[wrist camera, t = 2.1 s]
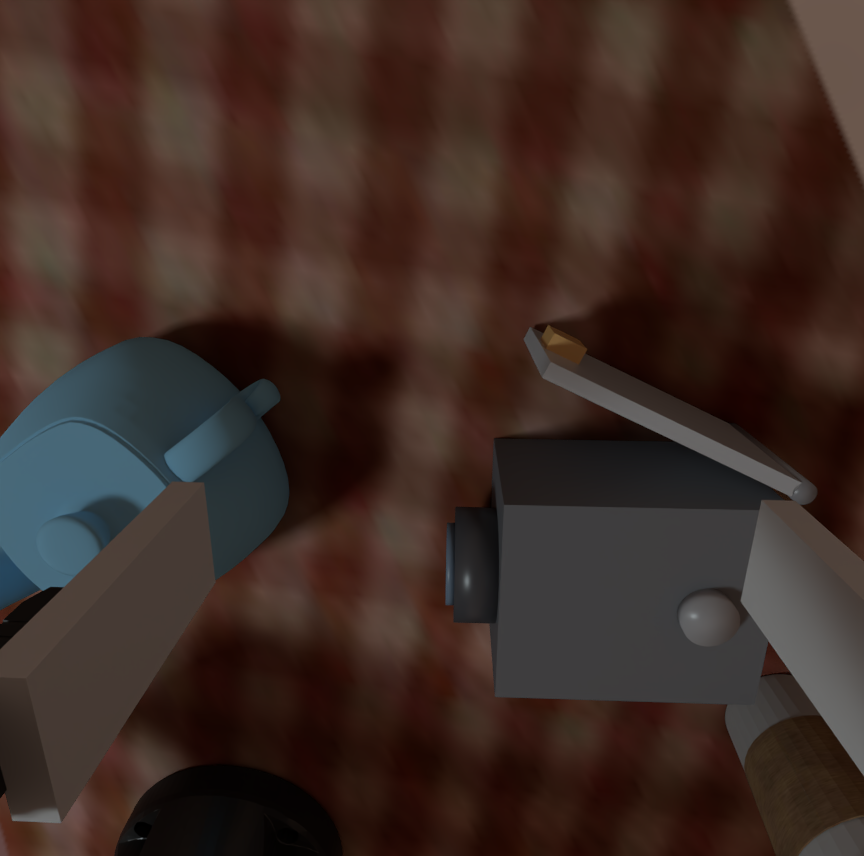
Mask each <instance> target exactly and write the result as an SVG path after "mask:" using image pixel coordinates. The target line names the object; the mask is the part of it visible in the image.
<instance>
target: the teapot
mask: <svg viewBox="0 0 864 856" xmlns="http://www.w3.org/2000/svg"><path fill="white" fill-rule="evenodd" d="M279 401H280V394H279V391H278V389H277V387H276V386H275V385H274V384H273V383H272V382H270V381H269V380H267V379H260V380H258V381H256V382H254V383H253V384H251V385H249V386H248V387H246V388H245V389H243V390H242V391H241V392H240V391H239V390H238V389H237V388H236V387H235V386H234V385H233V384H232V383H231V382H230V381H229V380H228V379H227V378H226V377H225V376H224V375H222V374H221V373H220V372H219V371H218V370H216V369H215V368H214V367H213V366H212V365H210V364H209V363H207V362H206V361H205V360H203V359H202V358H201V357H199V356H198V355H196V354H195V353H193V352H191V351H190V350H188V349H186V348H185V347H183V346H181V345H178V344H176V343H173V342H171V341H169V340H164V339H159V338H152V337H138V338H134V339H129V340H125V341H123V342H121V343H119V344H116V345H114V346H112V347H110V348H108V349H106V350H104V351H102V352H100V353H98V354H96V355H94V356H92V357H91V358H89V359H87V360H85V361H84V362H82V363H80V364H79V365H77V366H76V367H74V368H73V369H71V370H70V371H68V372H67V373H66V374H64V375H63V376H61V377H60V378H59V379H57V380H56V381H55V382H54V383H53V384H51V385H50V386H49V387H48V388H47V389H46V390H44V391H43V392H42V393H41V394H40V395H39V396H37V397H36V398H35V399H34V400H33V401H32V402H31V403H30V404H29V405H28V406H27V408H26V409H25V410H24V411H23V412H22V413H21V414H20V415H19V416H18V417H17V419H16V420H15V421H14V422H13V423H12V424H11V426H10V427H9V428H8V429H7V430H6V431H5V433H4V434H3V435H2V436H1V438H0V610H2V609H3V608H5V607H7V606H9V605H11V604H13V603H15V602H17V601H19V600H21V599H23V598H25V597H27V596H29V595H31V594H33V593H35V592H37V591H39V590H42V591H44V590H45V589H47V588H49V587H65V586H66V585H67V584H68V583H69V582H70V581H71V580H72V579H73V578H74V577H75V576H76V575H77V574H78V573H79V572H80V571H81V570H82V569H83V568H84V567H85V566H86V565H87V564H88V563H89V562H90V561H91V560H92V559H93V558H94V557H95V556H97V555H98V554H99V553H100V552H101V551H102V550H103V549H104V548H105V547H106V546H107V545H108V544H109V543H110V542H111V541H112V540H113V539H114V538H115V537H116V536H117V535H118V534H119V533H120V532H121V531H122V530H123V529H124V528H125V527H126V526H127V525H128V524H129V523H130V522H131V521H132V520H133V519H134V518H136V517H137V516H138V515H139V514H140V513H141V512H142V511H143V510H144V509H145V508H146V507H147V506H148V505H149V504H150V503H151V502H152V501H153V500H154V499H155V498H156V497H157V496H158V495H159V494H160V493H161V492H162V491H163V490H164V489H165V488H166V487H167V486H168V485H169V484H170V483H171V482H202V483H204V486H205V495H206V504H207V512H208V521H209V530H210V539H211V548H212V556H213V565H214V574H215V580H216V579H218V578H219V577H221V576H222V575H224V574H225V573H227V572H228V571H229V570H231V569H232V568H233V567H235V566H236V565H237V564H238V563H240V562H241V561H242V560H243V559H244V558H246V557H247V556H248V555H249V554H250V553H251V552H252V551H253V550H254V549H256V548H257V547H258V546H259V545H260V544H261V543H262V542H263V541H264V540H265V539H266V538H267V537H268V536H269V535H270V534H271V533H272V532H273V531H274V529H275V528H276V526H277V525H278V523H279V522H280V520H281V519H282V517H283V515H284V514H285V511H286V508H287V505H288V499H289V483H288V476H287V472H286V469H285V465H284V462H283V460H282V457H281V455H280V452H279V450H278V448H277V446H276V444H275V442H274V440H273V438H272V436H271V434H270V432H269V430H268V428H267V427H266V425H265V423H264V422H263V420H262V418H261V417H262V416H263V415H264V414H265V413H266V412H267V411H269V410H270V409H271V408H272V407H273V406H275V405H276V404H277V403H279Z"/></svg>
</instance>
